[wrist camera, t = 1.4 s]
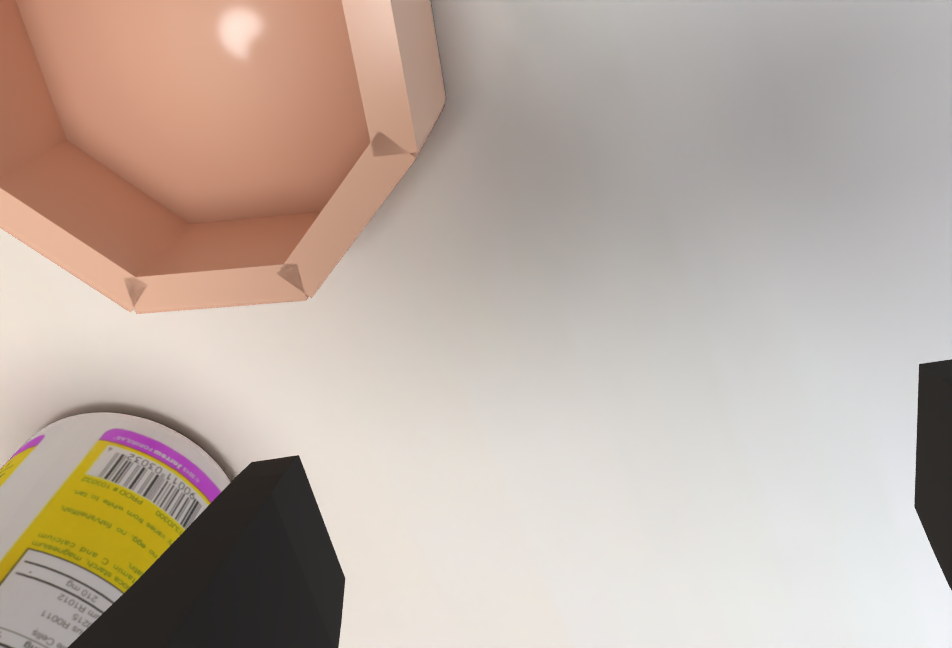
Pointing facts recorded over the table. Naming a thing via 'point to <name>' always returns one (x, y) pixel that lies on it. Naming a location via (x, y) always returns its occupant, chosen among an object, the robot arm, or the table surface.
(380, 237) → the table surface
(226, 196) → the bowl
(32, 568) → the supplement bottle
